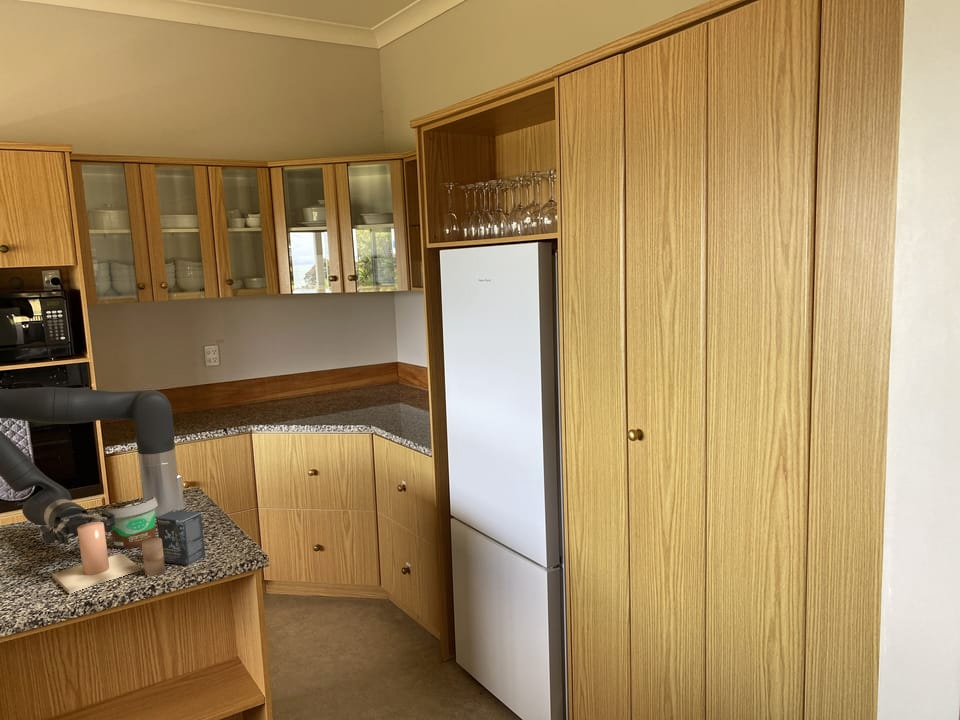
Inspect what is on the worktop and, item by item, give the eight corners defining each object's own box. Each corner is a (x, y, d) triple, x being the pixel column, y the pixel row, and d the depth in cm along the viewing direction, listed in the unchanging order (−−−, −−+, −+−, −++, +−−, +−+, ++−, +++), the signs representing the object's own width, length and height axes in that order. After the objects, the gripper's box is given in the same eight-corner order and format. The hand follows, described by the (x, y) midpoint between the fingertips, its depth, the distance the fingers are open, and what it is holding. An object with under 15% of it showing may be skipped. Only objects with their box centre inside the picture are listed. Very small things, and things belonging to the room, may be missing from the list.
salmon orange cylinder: (105, 563, 158) (99, 520, 157) (112, 569, 154) (106, 525, 153) (80, 570, 154) (74, 526, 153) (87, 577, 151) (81, 531, 150)
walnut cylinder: (161, 566, 157) (157, 536, 156) (168, 571, 154) (164, 540, 153) (142, 572, 154) (138, 541, 153) (149, 577, 152) (145, 546, 151)
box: (160, 562, 159) (155, 517, 158) (179, 552, 165) (174, 508, 163) (188, 566, 157) (182, 520, 155) (206, 556, 162) (201, 511, 160)
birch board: (121, 557, 164) (121, 553, 163) (140, 571, 155) (140, 567, 155) (52, 578, 154) (52, 573, 154) (69, 594, 145) (68, 589, 145)
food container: (120, 554, 165) (115, 512, 164) (108, 549, 169) (102, 508, 167) (171, 537, 174) (166, 497, 173) (159, 533, 178) (153, 494, 177)
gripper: (29, 510, 162) (48, 526, 150) (97, 494, 171) (120, 508, 160) (33, 542, 163) (53, 560, 151) (100, 524, 172) (124, 540, 161)
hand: (87, 533), depth 155 cm, fingers open, 8 cm apart
